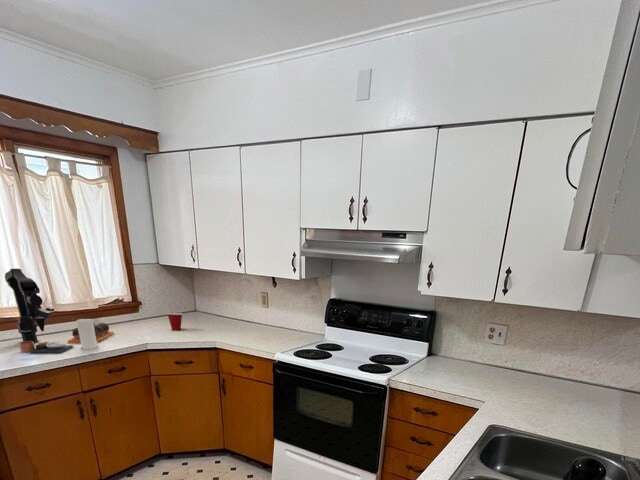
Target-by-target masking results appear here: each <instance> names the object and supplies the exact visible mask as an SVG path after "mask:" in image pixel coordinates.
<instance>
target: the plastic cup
mask: <svg viewBox="0 0 640 480" xmlns="http://www.w3.org/2000/svg"><path fill="white" fill-rule="evenodd" d="M183 314H184V313H182V312H174V311H173V312H167V313H166V315H167V317H168V319H169V325H170V328H171V331H174V332H175V331H181V330H182V319H183Z"/></svg>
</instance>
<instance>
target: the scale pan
mask: <svg viewBox="0 0 640 480" xmlns="http://www.w3.org/2000/svg"><path fill="white" fill-rule="evenodd" d="M43 343H44V344H46V347H61V346H65V345H66V342H60V341H59V342H50V341H49V342H48V341H44V342H43Z"/></svg>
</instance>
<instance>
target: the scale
mask: <svg viewBox="0 0 640 480" xmlns="http://www.w3.org/2000/svg"><path fill="white" fill-rule="evenodd" d="M34 346H35V349H34V350H31V351H30V352H29V353H30V354H54V355H55V354H56V355H57V354H59V355H61V354H63V353H65V352H68V351H69V350H71V349H73V348H74V346H73V345H71V344H69V345H68V344H67V345H65V346H61V347H46V344H44V345H43V346H39V345H38V344H34Z"/></svg>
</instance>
